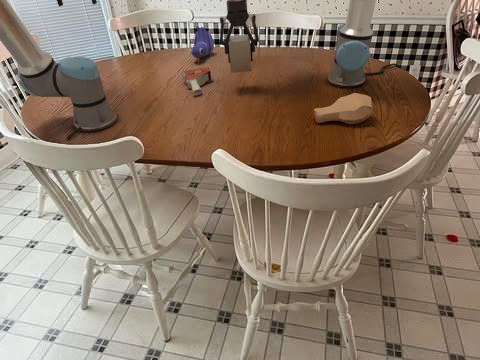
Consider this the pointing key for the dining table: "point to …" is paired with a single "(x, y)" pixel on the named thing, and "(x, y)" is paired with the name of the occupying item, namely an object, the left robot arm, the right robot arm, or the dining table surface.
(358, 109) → the squash
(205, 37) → the toy
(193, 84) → the tape dispenser
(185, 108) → the dining table surface
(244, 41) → the block
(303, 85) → the dining table surface
